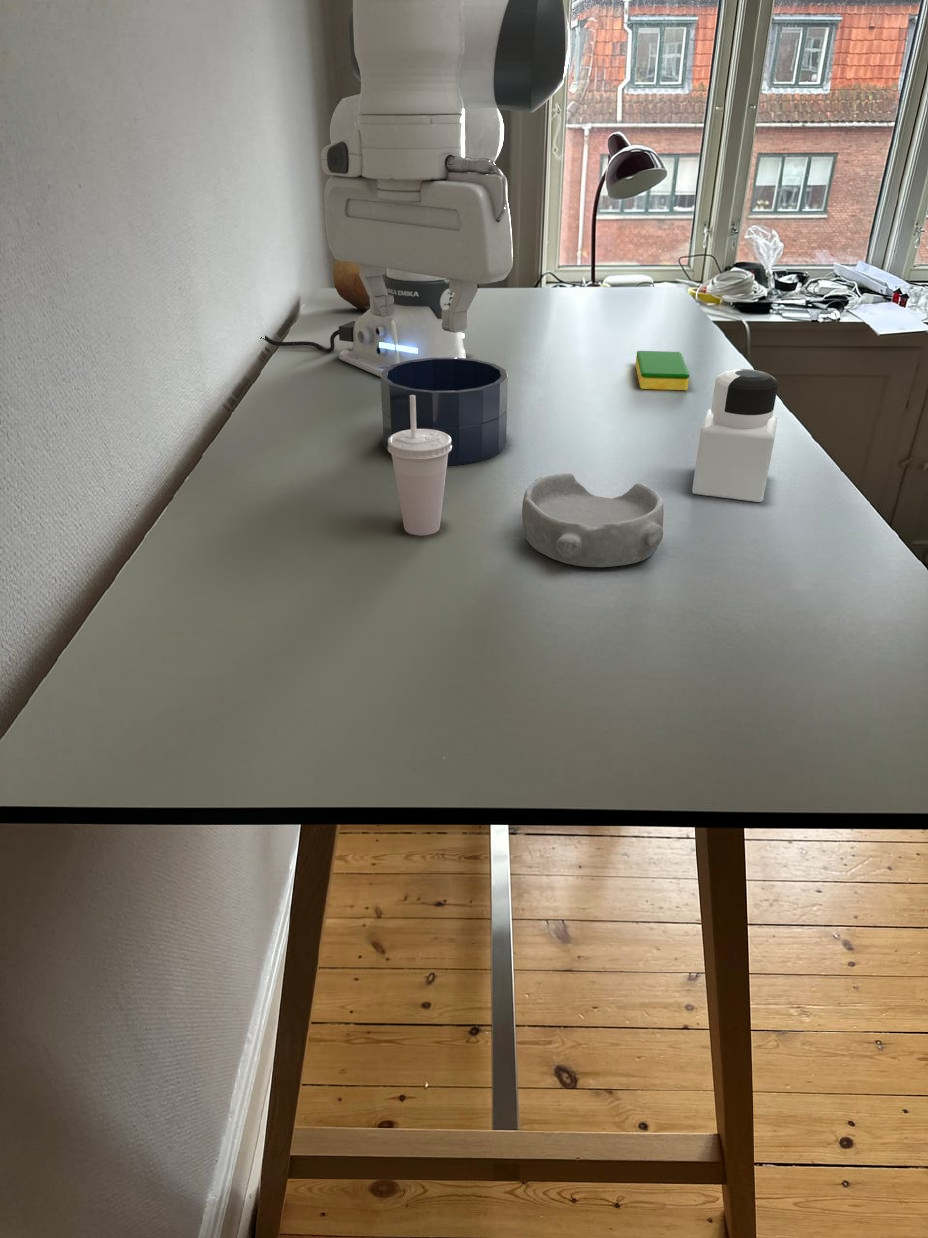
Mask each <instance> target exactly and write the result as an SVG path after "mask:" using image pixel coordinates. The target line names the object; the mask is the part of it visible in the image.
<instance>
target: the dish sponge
mask: <svg viewBox="0 0 928 1238" xmlns="http://www.w3.org/2000/svg"><path fill="white" fill-rule="evenodd" d="M684 359H685V358H684V356H683V354H682V352H680V351H662V350H661V351H660V350H637V351H636V357H635V368H636V374H637V379H638V383H639V388H640V389H642V390H660V391H661V390H662V391H663V390H664V391H687V390H688V389H689V382H690V373H689V370H688V368H687V365H686V362H685V360H684Z"/></svg>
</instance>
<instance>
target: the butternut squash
mask: <svg viewBox="0 0 928 1238" xmlns="http://www.w3.org/2000/svg"><path fill="white" fill-rule="evenodd" d="M385 270H386V268H385ZM332 275H333V276H332V277H333V284H334V288H335V290H336V293H337V294H338V295H339V297H340V298H342V299H343V300H344V301H346V302H347V303H349V304H350V305H352V306H354V307H355V308H356V309H359V310H363V311H367V310H369V309H370V296H368V293H367V291H366V289H365V287H364V285H363V283H362V280H361V278H360V276H359V264H358V263H352V262H346V261H340V260H336V259H335V261H334V266H333V274H332ZM385 275H386V274H385ZM385 275H382V278H384V276H385Z"/></svg>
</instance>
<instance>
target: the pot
mask: <svg viewBox="0 0 928 1238" xmlns="http://www.w3.org/2000/svg"><path fill="white" fill-rule="evenodd" d="M508 384H509V376H508V372H507V370H506V369H505V368H503V367H501V366H499V365H497V364H496V363H492V362H488V361H486V360H485V361H484V360H481V359H476V358H456V357H455V358H454V357H446V358H424V359H416V360H408V361H405V362H401V363H397V364H393V365H391V366H389V367H388V368H386V369H384V370H383V371H382V372H381V377H380V396H381V397H380V398H381V414H382V415H381V417H382V438H383V445H384V448H385V450H386V451H387V452H388V453H389V454H390V455H391V456H392V454H391V453H390V452H389V451H388V438H389V437H390V436H391V435H393V434H395V433H397V432H400V431H404V430H410V429H411V421H410V395H415V399H416V429H432V430H437V431H441V432H444V433H446V434H448V435H449V436H450V437H451V446H452V449H451V451H450V452H449V453H448V459H447V466H461V465H468V464H474V463H478V462H482V461H485V460H489V459H492V458H493V457H496V456H497V455H498V454H499V455H500V453H501V452H502V451H504V449H505V447H506V443H507V426H508V425H507V423H508Z"/></svg>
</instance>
